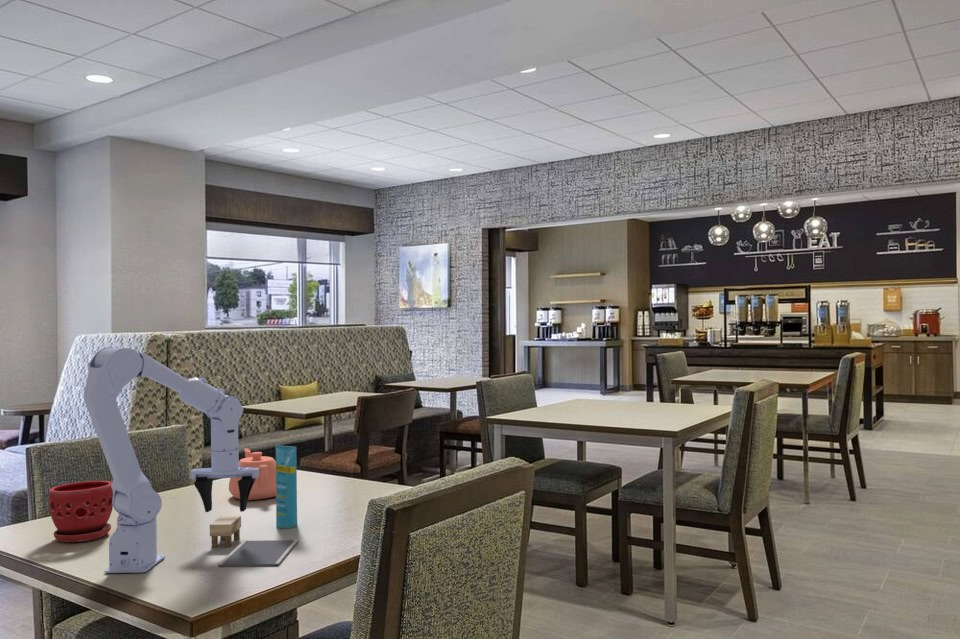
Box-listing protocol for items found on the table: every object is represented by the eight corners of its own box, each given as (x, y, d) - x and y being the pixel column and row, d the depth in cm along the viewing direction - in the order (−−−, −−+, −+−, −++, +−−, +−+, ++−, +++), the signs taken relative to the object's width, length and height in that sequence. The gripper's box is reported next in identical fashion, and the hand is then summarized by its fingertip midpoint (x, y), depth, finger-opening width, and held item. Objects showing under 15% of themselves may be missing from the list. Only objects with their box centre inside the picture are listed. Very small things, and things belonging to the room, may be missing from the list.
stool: (230, 547, 158) (230, 524, 158) (209, 547, 158) (209, 524, 158) (241, 538, 165) (241, 515, 165) (221, 538, 165) (221, 516, 165)
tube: (268, 526, 175) (267, 445, 175) (283, 521, 179) (282, 442, 179) (291, 530, 171) (290, 448, 171) (305, 525, 175) (305, 444, 175)
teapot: (220, 491, 212) (220, 449, 212) (272, 485, 220) (272, 444, 220) (237, 507, 193) (237, 460, 194) (294, 499, 201) (293, 455, 201)
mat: (278, 565, 146) (278, 563, 146) (218, 566, 146) (218, 564, 146) (298, 541, 162) (298, 539, 162) (244, 542, 162) (244, 540, 162)
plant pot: (127, 531, 172) (126, 480, 172) (82, 547, 160) (82, 492, 160) (81, 527, 176) (81, 477, 176) (35, 543, 163) (34, 489, 163)
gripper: (263, 445, 166) (264, 505, 166) (199, 446, 166) (200, 506, 166) (253, 451, 159) (254, 513, 159) (186, 452, 159) (187, 514, 159)
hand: (225, 510), depth 162 cm, fingers open, 7 cm apart
